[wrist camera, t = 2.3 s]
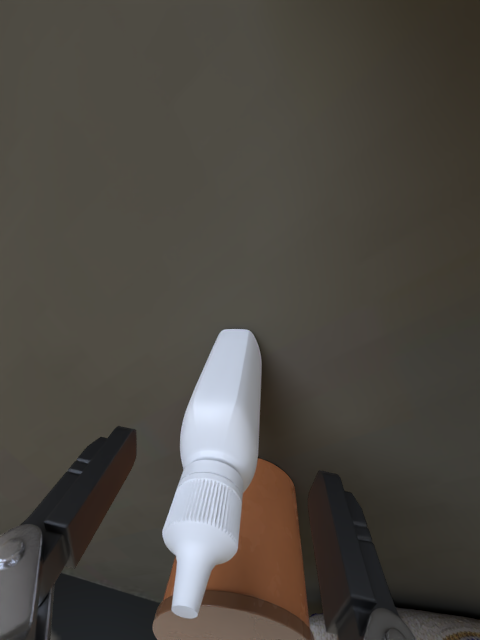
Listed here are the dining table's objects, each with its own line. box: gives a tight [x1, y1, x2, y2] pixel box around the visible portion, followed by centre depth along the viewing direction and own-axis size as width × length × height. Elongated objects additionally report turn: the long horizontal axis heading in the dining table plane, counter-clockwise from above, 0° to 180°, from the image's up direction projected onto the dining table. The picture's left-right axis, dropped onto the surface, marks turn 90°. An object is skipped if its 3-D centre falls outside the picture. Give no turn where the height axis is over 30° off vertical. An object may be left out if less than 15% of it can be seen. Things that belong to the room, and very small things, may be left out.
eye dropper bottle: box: [162, 329, 262, 619], centre depth 12 cm, size 4×6×12 cm
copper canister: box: [153, 458, 315, 640], centre depth 18 cm, size 10×10×9 cm
